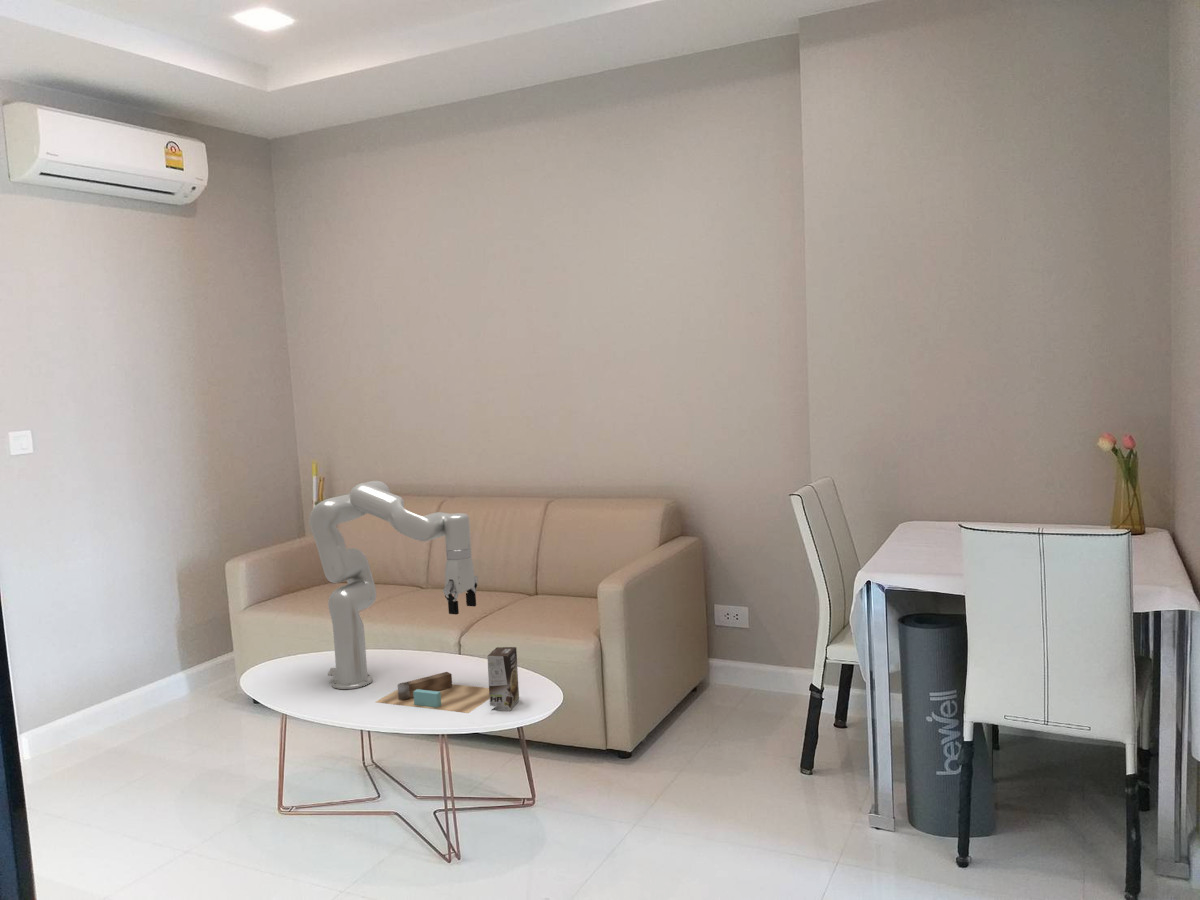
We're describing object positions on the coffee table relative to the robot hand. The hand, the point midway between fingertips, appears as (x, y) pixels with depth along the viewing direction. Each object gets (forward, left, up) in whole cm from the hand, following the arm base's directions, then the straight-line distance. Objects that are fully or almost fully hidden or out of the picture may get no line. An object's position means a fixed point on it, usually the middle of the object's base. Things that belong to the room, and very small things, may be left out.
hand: (462, 609), depth 273 cm
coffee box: (+17, -7, -26) cm, 32 cm away
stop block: (-3, -17, -24) cm, 30 cm away
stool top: (-4, -9, -25) cm, 27 cm away
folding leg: (-10, -9, -24) cm, 27 cm away
